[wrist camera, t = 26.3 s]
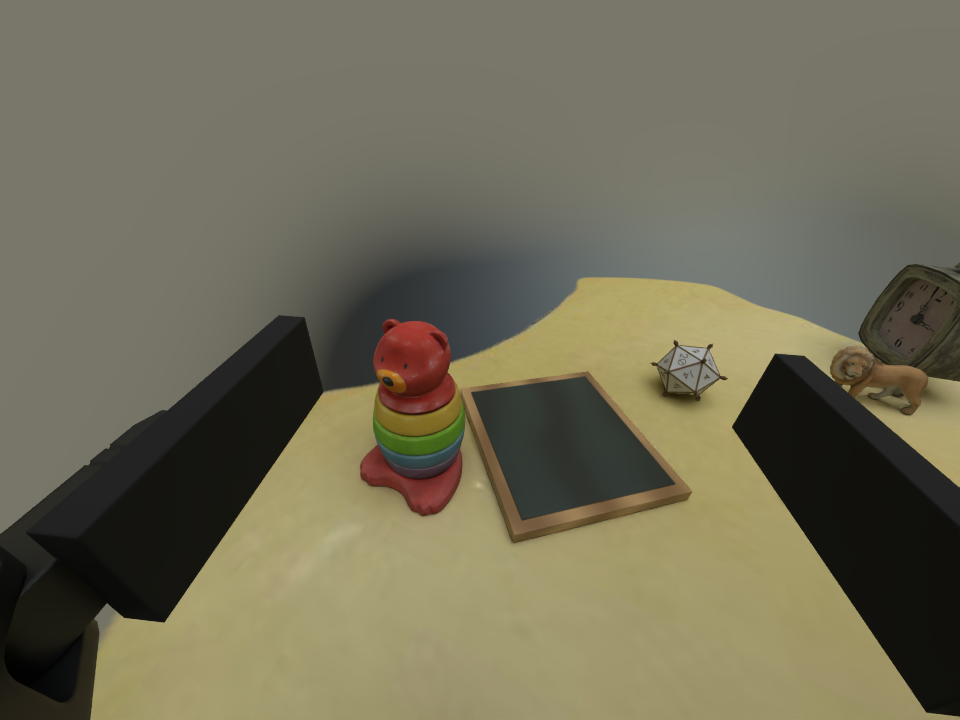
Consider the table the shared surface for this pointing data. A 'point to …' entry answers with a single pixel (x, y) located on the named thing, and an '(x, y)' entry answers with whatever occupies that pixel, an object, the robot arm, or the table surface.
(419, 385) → the stacking bear
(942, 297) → the tabletop clock
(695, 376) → the game die
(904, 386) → the lion figurine
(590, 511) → the chalkboard
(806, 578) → the table surface
